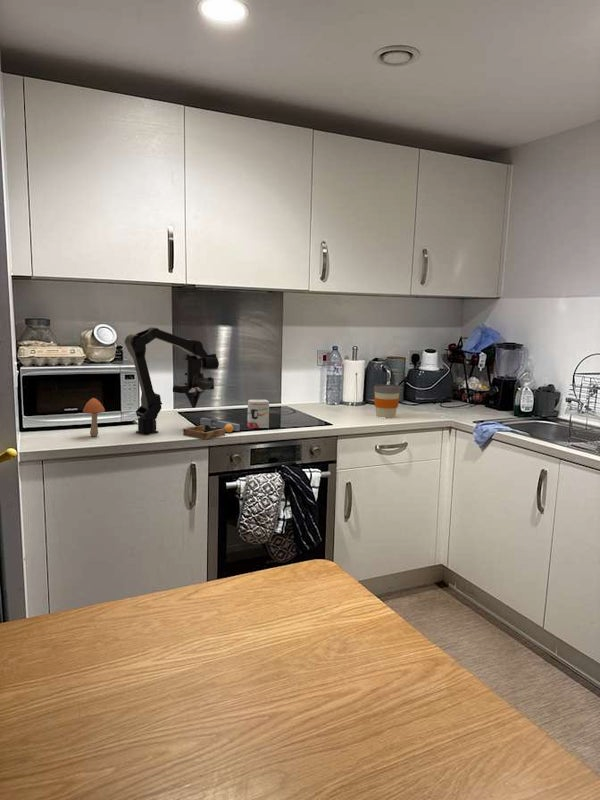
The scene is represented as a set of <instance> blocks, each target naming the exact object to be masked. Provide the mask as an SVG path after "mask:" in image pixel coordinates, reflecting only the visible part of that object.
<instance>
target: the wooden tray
mask: <svg viewBox="0 0 600 800" xmlns="http://www.w3.org/2000/svg"><path fill="white" fill-rule="evenodd" d="M225 435H226V431H225V429H223V428H218V429H215V430H212V431H211V430H210V431H207V432H206V425H202V424H200V425H196V426H195V425H194V426H192V427H187V428H183V436H185V437H186V436H187V437H189V438H190V437H192V438H195V439H200V440H210V439H213V438H218V437H223V436H225Z"/></svg>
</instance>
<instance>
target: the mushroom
mask: <svg viewBox="0 0 600 800" xmlns="http://www.w3.org/2000/svg"><path fill="white" fill-rule="evenodd" d="M105 411H106V409H105V407H104V406H103V404H102V403H101V401H100V400H98V399H97V398H95V397H92V398H91V399H89V400H88V401H87V402H86V404H85V406H84V407H83V410H82V412H83V413H84V414H91V425H90V430H89V431H90V432H89V434H90V437H92V436H96V437H98V436H99V428H98V414H101V413H104V412H105ZM97 435H98V436H97Z"/></svg>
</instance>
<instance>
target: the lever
mask: <svg viewBox="0 0 600 800" xmlns="http://www.w3.org/2000/svg"><path fill="white" fill-rule="evenodd" d="M213 421H215V427H218V428H217V429H224V427H225V425H227V424H231V425H232V426H233V431H234V432H240V429H241V427H240V426H241V425H240V424H239V423H236V422H235V423H234V422H228V421H223V420H219V419H218V418H208V417H200V425H205V426H208V427H209V426H213ZM233 431H232V432H233Z"/></svg>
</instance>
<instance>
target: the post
mask: <svg viewBox="0 0 600 800" xmlns="http://www.w3.org/2000/svg"><path fill="white" fill-rule="evenodd" d="M209 427H210V429H219V428H218V427H215V421H213V426H208V428H209Z"/></svg>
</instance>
